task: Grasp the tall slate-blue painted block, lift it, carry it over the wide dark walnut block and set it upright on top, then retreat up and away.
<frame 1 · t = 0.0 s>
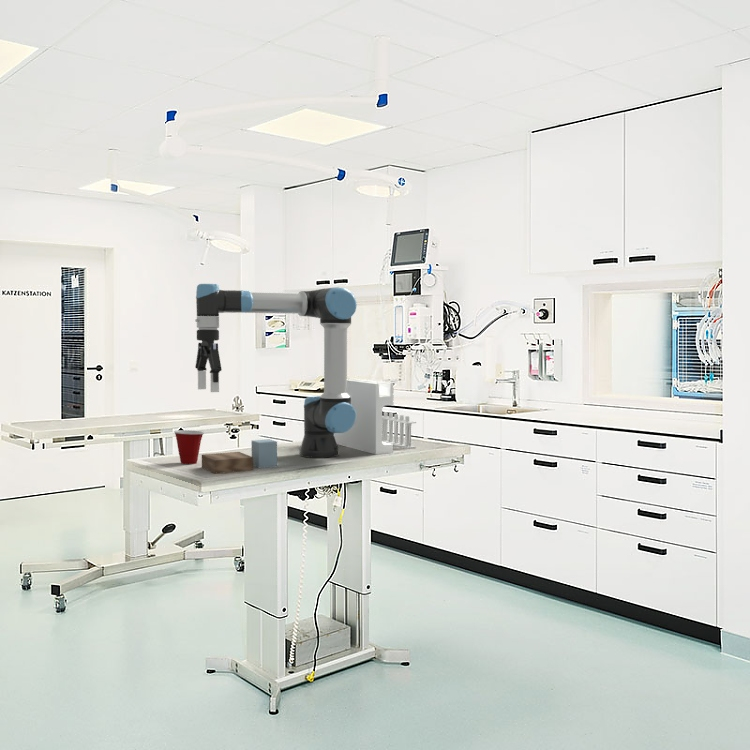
hand: (208, 390, 278), 28 cm above the table, fingers open, 13 cm apart
walnut block: (227, 470, 284), on the table
block: (362, 448, 335), on the table
slate block: (264, 465, 291), on the table
plastic cup: (189, 463, 296), on the table
test tube rack: (396, 445, 344), on the table
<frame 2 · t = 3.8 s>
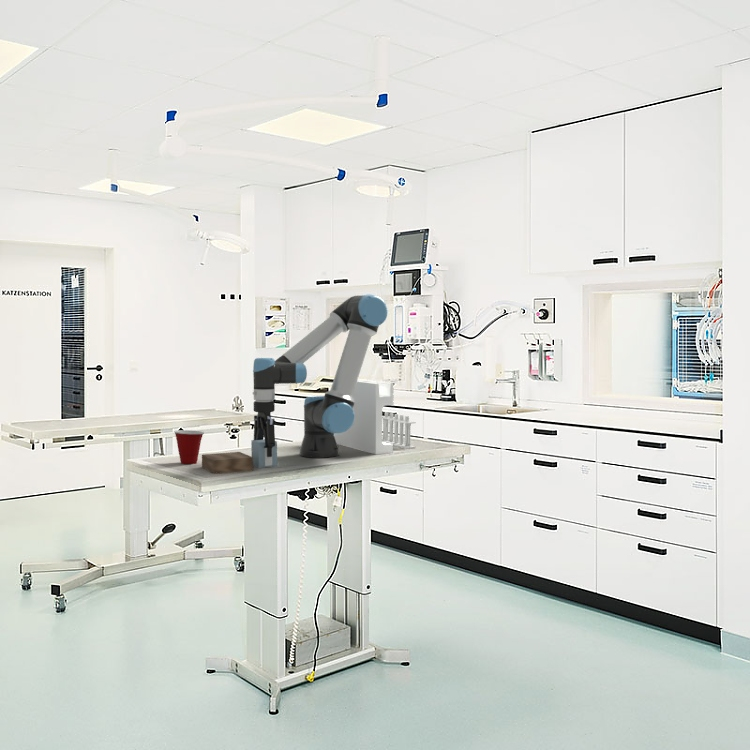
hand: (264, 463, 291), 1 cm above the table, fingers closed on slate block, 7 cm apart
slate block: (264, 465, 291), on the table, touching gripper
everything else where it was.
when the fingers open (8 cm above the table, at t = 9.8 s): slate block drops 2 cm, resting on walnut block.
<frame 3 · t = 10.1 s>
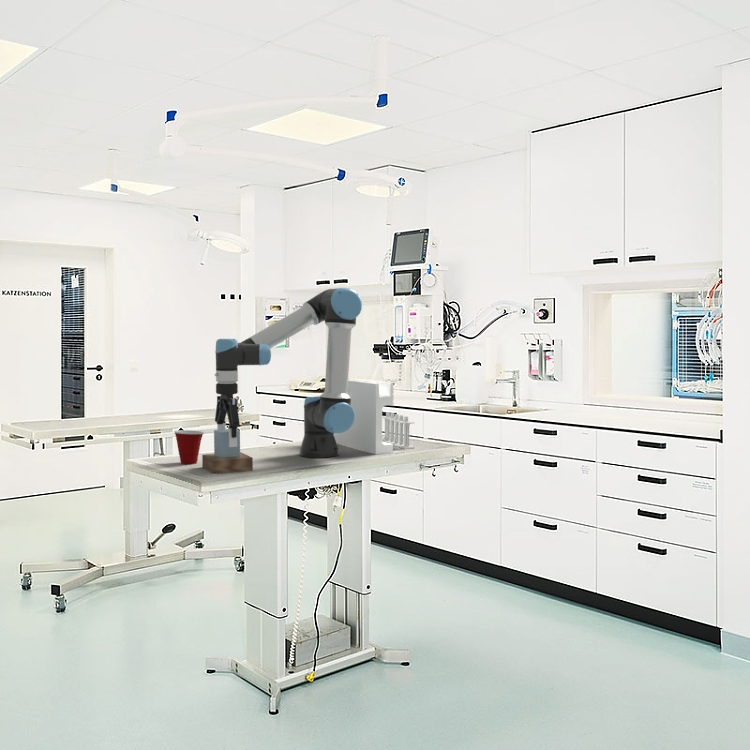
hand: (227, 444, 284), 9 cm above the table, fingers open, 11 cm apart
walnut block: (227, 470, 284), on the table, touching slate block
slate block: (227, 455, 284), point 5 cm above the table, touching walnut block
everything else where it was.
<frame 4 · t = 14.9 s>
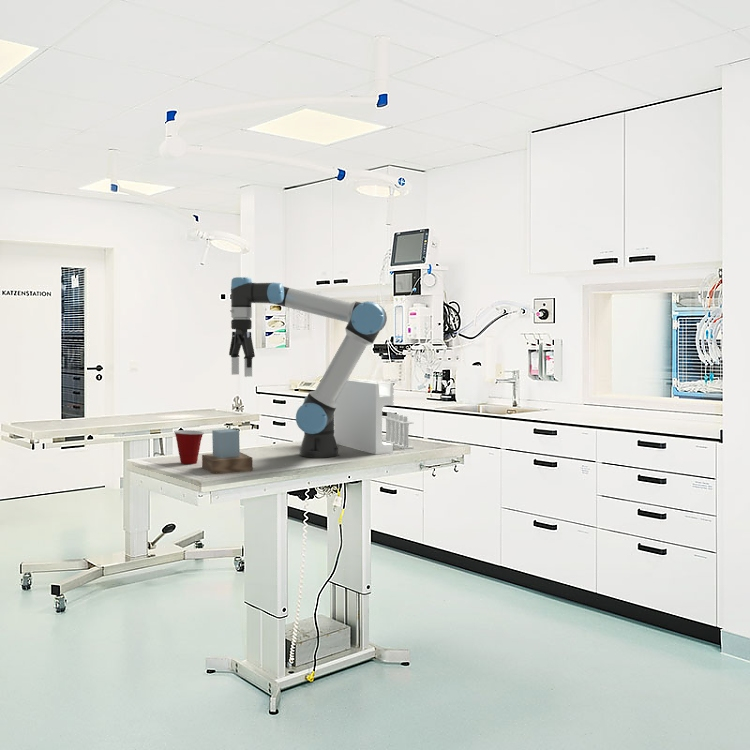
hand: (241, 375, 303), 32 cm above the table, fingers open, 13 cm apart
at the end: slate block inside the target area on the walnut block (0.4 cm from its centre), point 5.0 cm above the walnut block's base; slate block tilted 1°; the gripper is holding nothing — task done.
